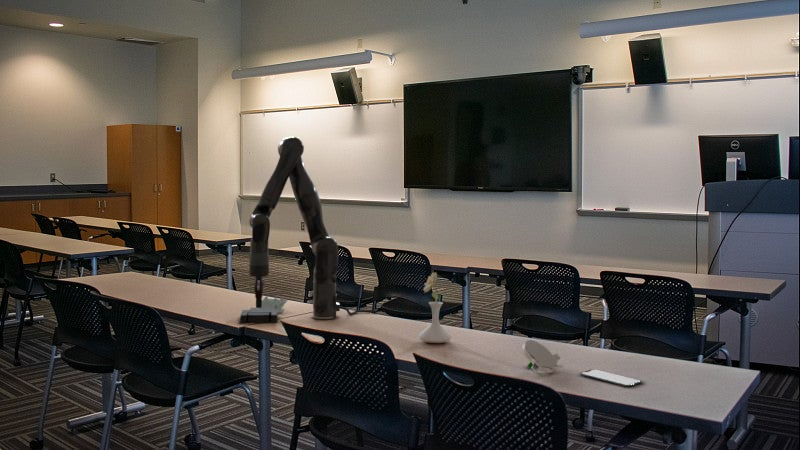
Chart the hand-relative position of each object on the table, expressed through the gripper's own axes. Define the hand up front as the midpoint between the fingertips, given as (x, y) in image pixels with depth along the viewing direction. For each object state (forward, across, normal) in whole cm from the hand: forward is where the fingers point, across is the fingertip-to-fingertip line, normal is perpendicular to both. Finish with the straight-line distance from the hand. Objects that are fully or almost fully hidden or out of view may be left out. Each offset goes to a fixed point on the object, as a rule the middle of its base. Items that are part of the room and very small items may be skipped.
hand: (258, 307), depth 282 cm
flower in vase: (+6, -43, -62) cm, 76 cm away
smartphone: (+5, -94, -103) cm, 140 cm away
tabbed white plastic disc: (+5, -82, -86) cm, 119 cm away
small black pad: (+6, 0, 0) cm, 6 cm away
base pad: (+6, +3, 0) cm, 6 cm away
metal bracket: (+6, +24, -4) cm, 25 cm away
